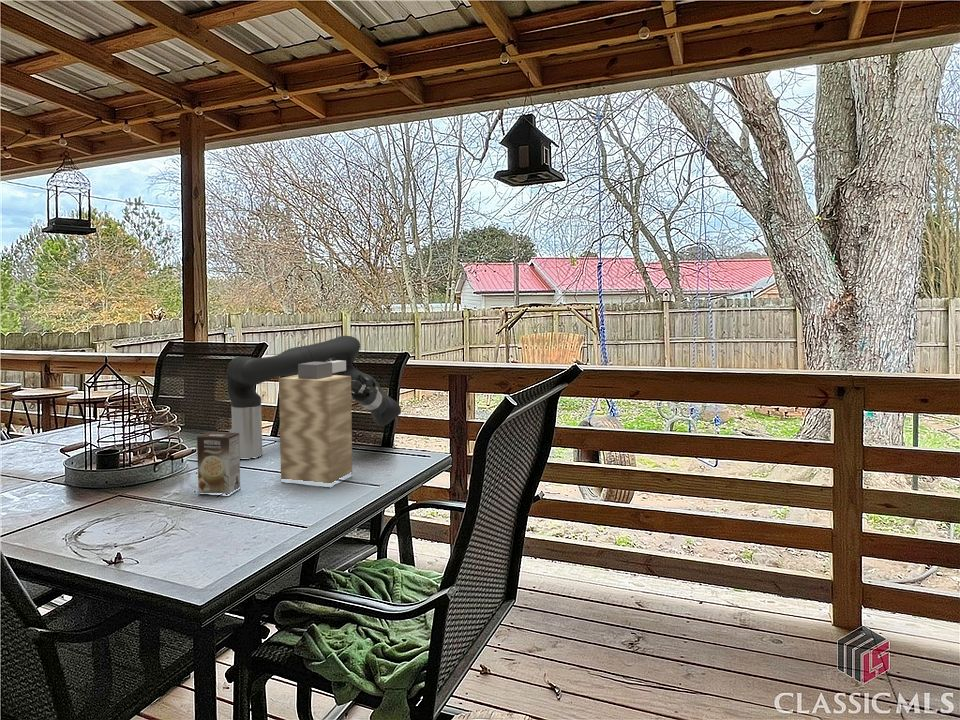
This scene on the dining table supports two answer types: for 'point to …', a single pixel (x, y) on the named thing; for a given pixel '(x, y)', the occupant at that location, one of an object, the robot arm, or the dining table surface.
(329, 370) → the block
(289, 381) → the pedestal
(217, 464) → the coffee box
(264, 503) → the dining table surface
